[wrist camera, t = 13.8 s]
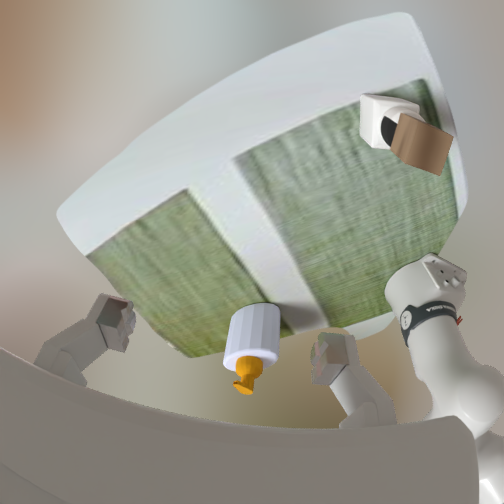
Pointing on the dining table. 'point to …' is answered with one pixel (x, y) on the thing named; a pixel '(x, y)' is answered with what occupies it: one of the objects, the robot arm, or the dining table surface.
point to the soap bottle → (252, 343)
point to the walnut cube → (421, 144)
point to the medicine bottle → (383, 118)
